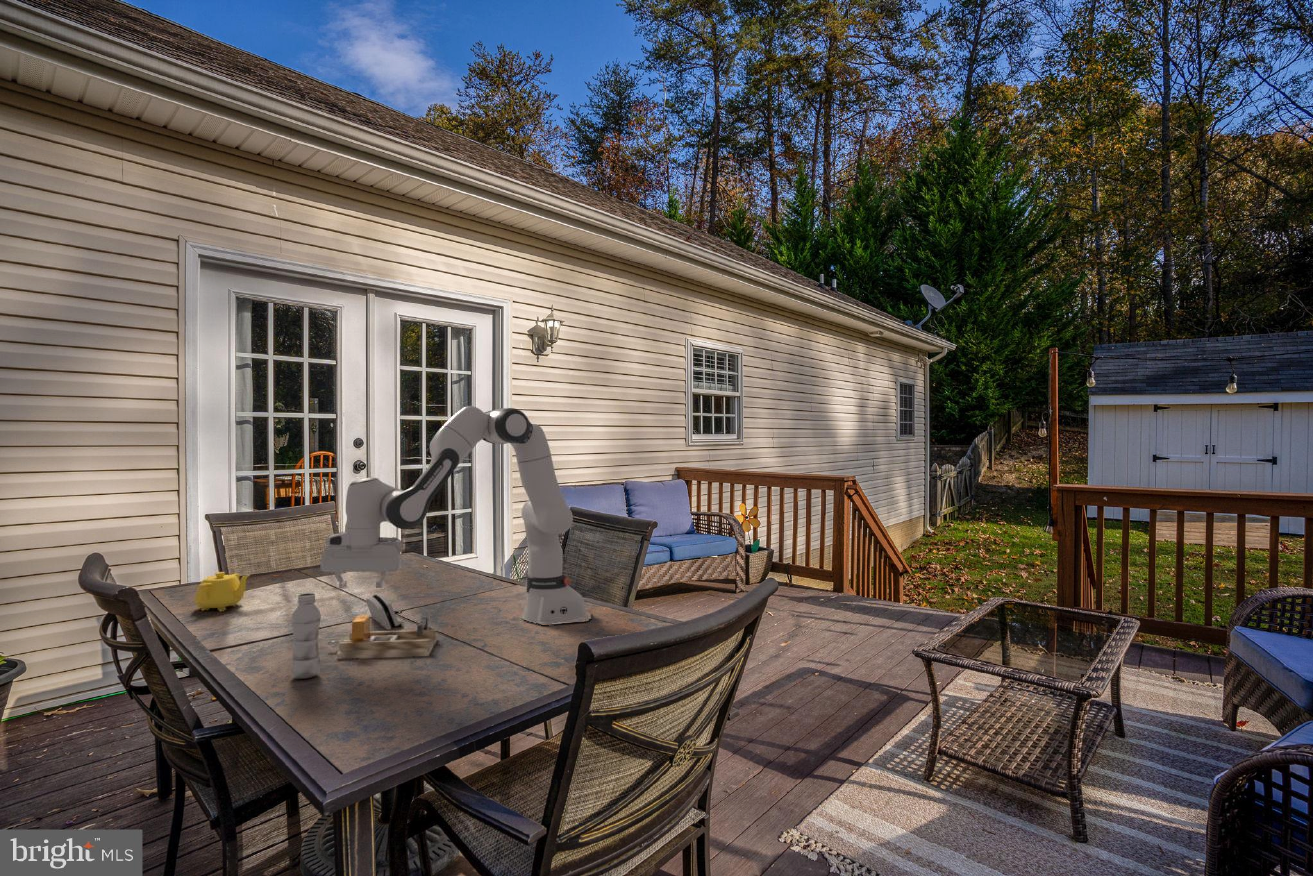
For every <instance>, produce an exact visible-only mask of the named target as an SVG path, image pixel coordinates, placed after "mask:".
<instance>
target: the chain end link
mask: <svg viewBox="0 0 1313 876" xmlns="http://www.w3.org/2000/svg"><path fill="white" fill-rule="evenodd" d="M370 628H371V614H370V615H357V617H356V618H354V620H352V622H351V632H352V642H362V641H386V640H390V641H394V640H398V635H372V636H371V637H370V632H371V629H370ZM341 642H351V640H350V639H348V640H340V641H339V640H328V641H327V642H326V644H327V646H329V645H330V646H331V645H340V643H341Z"/></svg>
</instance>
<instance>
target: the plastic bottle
mask: <svg viewBox="0 0 1313 876" xmlns="http://www.w3.org/2000/svg"><path fill="white" fill-rule="evenodd" d="M315 603H316V593H314V592H306V593H301V594H298V596H297V604H298V605H297V607H296V608H295V610H294V611H293V613H291V617H290V618H291V619H290V620H291V627H292V635H293V637H292V638H293V646H292V647H293V648H292V658H291V662H290V667H289V668H290V669H289V670H290V674H291V676H292V678H294V679H295V680H303V679H304V680H305V679H311V678H313V677H316V676H317V675H318V674H319V672H320V671H321V666H322V665H321V659H320V658H321V657H320V653H319V652H320V651H319V632H320V626H321V618H322V613H321V611H320V609H319V608H318V607H317V605H316V604H315Z"/></svg>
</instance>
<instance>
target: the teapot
mask: <svg viewBox="0 0 1313 876" xmlns="http://www.w3.org/2000/svg"><path fill="white" fill-rule="evenodd" d="M214 573H215V574H214V575H212V576H207V577H205V578H203V579H202V581H201V583H200V584H199V585H198V588H197V590H196V593H195V596H194V597H195V598H194V603H195V604H196V606H197V607H198V608H201V609H200V610H207V611H209V610H210V609H216V608H217V611H218V610H226V611H227V607H230V606H235V607H237V606H236V605H238V603H239V602H241V601H242V599H243V598H244V594H245V591H246V589H247V588H246V586H247V585H246V584H247V579H248V578H249V576H251V575H250V574H248V575H243V576H242V577H241V579H240V574H239V573H233V574H225V573H226V572H225V571H219V572H218V571H217V572H214Z"/></svg>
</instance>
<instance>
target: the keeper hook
mask: <svg viewBox="0 0 1313 876" xmlns="http://www.w3.org/2000/svg"><path fill="white" fill-rule="evenodd" d="M429 620H430V619H429V616H428V617H427V616H424V617H421V618H420V621H419V622H418V624H417V626H416V627H417V629H416V630H417V637H418V636H423V630H429Z"/></svg>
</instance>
